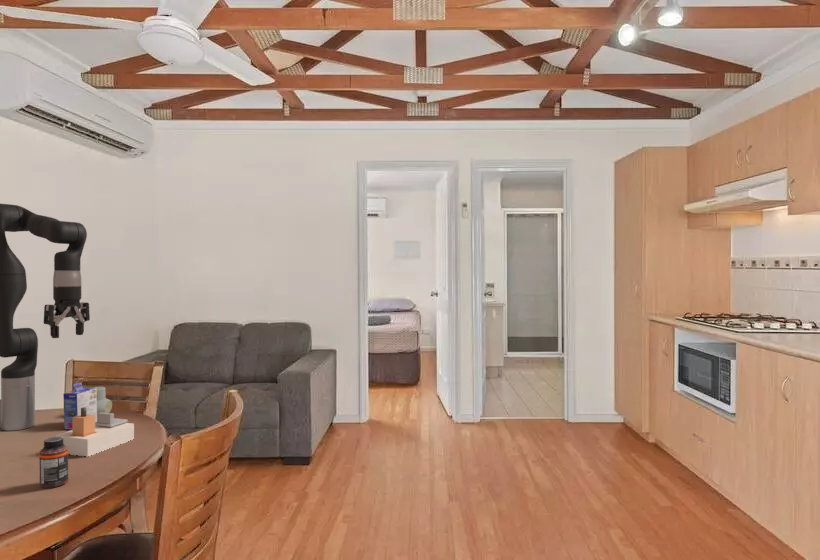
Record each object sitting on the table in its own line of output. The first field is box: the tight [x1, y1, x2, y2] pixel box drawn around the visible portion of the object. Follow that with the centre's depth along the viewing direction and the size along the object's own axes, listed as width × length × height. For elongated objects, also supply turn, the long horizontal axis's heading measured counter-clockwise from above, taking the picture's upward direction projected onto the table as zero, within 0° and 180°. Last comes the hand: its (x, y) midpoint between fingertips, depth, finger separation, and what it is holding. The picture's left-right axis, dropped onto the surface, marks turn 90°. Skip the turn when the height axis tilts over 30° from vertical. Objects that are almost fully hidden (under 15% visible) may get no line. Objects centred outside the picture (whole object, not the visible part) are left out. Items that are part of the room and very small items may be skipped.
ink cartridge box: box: [63, 382, 97, 430], centre depth 186 cm, size 10×6×14 cm, turn 174°
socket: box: [54, 422, 135, 458], centre depth 164 cm, size 12×17×5 cm
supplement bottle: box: [39, 436, 69, 489], centre depth 134 cm, size 6×6×11 cm
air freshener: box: [94, 386, 113, 413], centre depth 199 cm, size 11×8×10 cm
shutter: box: [95, 412, 129, 427], centre depth 169 cm, size 7×6×4 cm
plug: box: [71, 407, 95, 437], centre depth 160 cm, size 4×4×11 cm
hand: (67, 336), depth 171 cm, fingers open, 8 cm apart
